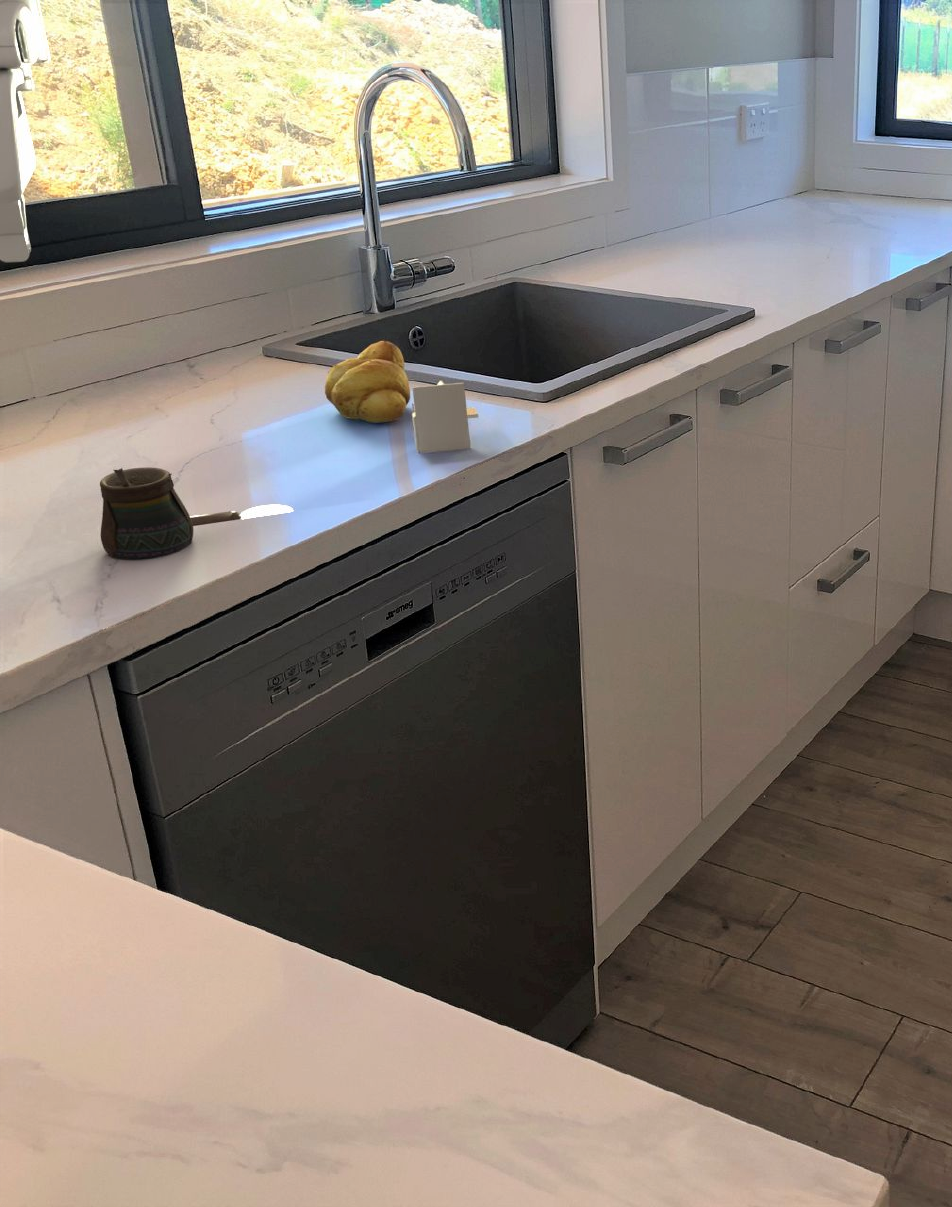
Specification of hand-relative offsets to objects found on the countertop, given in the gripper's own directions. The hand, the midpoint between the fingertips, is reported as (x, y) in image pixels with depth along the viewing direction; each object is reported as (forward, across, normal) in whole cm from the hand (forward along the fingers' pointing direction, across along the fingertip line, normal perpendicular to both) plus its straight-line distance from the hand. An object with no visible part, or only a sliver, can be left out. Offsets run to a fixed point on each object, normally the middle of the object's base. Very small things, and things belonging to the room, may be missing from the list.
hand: (16, 258), depth 87 cm
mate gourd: (+29, -17, +4) cm, 34 cm away
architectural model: (+29, -41, +34) cm, 61 cm away
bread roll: (+29, -58, +29) cm, 71 cm away
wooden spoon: (+29, -24, +9) cm, 39 cm away
